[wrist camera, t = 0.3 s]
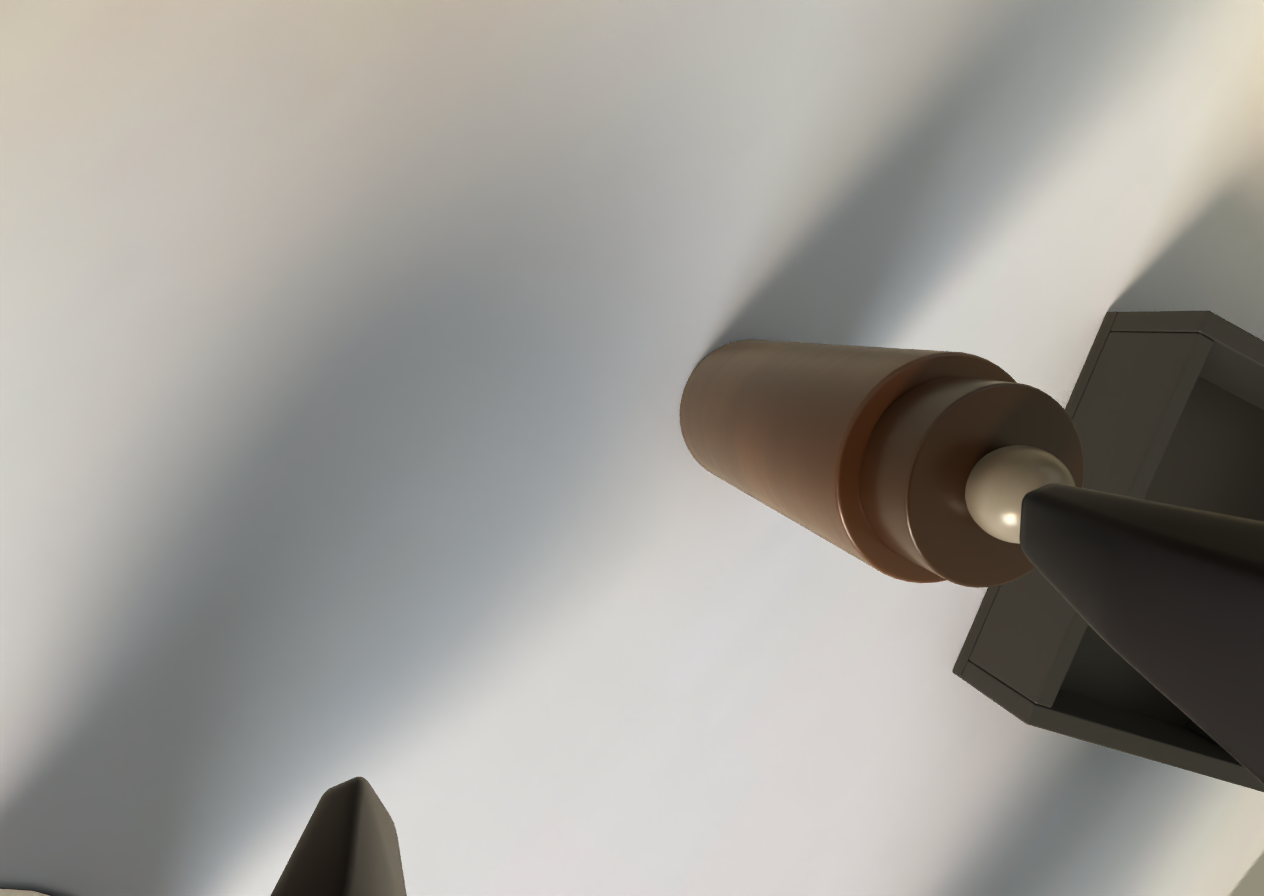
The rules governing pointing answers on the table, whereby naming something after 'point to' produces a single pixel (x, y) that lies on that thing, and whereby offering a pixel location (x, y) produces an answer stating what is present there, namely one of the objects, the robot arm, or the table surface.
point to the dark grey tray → (1146, 469)
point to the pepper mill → (884, 450)
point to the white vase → (19, 893)
